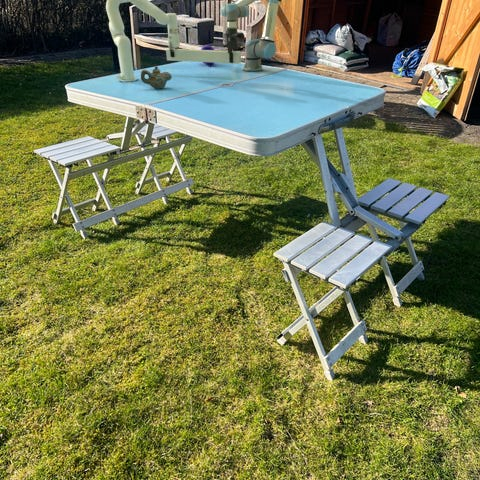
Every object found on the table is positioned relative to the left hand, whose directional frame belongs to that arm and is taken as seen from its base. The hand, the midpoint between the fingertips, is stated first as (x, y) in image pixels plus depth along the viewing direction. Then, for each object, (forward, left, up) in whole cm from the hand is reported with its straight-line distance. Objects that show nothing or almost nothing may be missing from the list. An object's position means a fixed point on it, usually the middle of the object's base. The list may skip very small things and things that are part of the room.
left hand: (174, 56), depth 350 cm
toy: (+43, +29, -14) cm, 54 cm away
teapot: (-28, -41, -14) cm, 52 cm away
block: (+16, -18, -3) cm, 25 cm away
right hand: (+33, -36, -2) cm, 49 cm away
